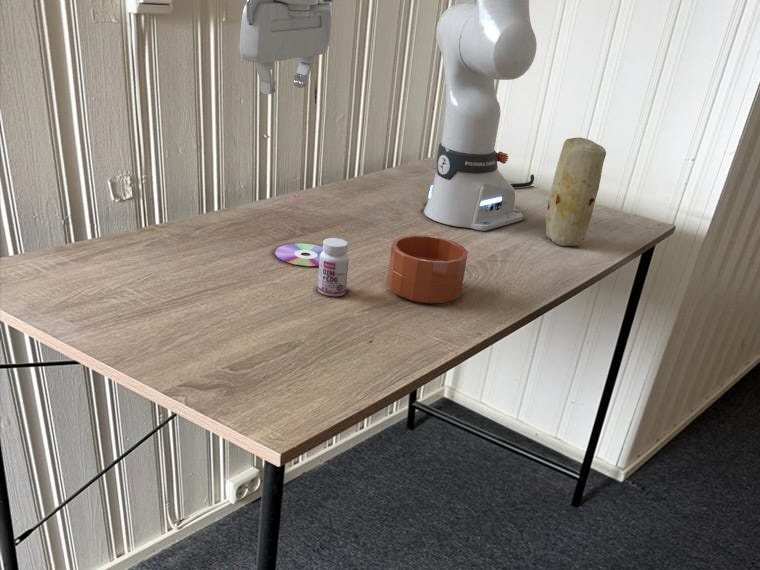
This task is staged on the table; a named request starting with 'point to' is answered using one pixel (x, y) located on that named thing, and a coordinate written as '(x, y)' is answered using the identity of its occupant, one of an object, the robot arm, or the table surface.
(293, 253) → the cd
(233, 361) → the table surface
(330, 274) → the pill bottle
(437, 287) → the pot
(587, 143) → the food model
